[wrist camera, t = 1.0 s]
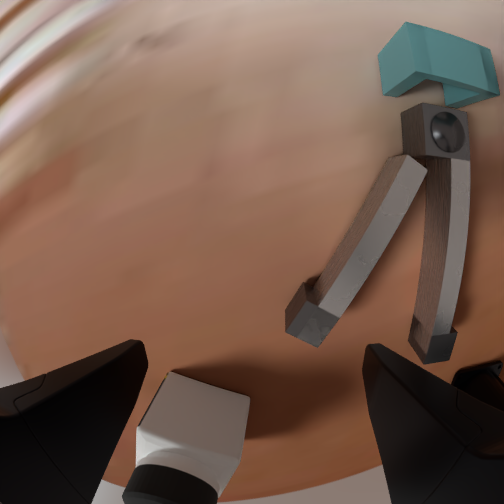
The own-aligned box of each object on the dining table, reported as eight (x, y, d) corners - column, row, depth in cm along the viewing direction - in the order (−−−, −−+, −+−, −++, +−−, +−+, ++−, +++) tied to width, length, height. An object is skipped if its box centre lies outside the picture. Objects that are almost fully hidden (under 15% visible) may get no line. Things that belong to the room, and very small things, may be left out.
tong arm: (379, 150, 16) (396, 146, 13) (406, 170, 16) (427, 170, 13) (285, 309, 19) (285, 332, 17) (313, 324, 20) (317, 347, 17)
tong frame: (400, 112, 16) (423, 102, 12) (449, 121, 15) (476, 114, 12) (387, 342, 20) (401, 368, 16) (431, 337, 19) (450, 361, 16)
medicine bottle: (168, 368, 22) (105, 481, 11) (252, 395, 22) (230, 523, 10) (160, 419, 24) (114, 515, 13) (231, 441, 24) (208, 546, 12)
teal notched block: (377, 54, 14) (405, 21, 10) (450, 70, 14) (490, 49, 9) (382, 95, 15) (415, 70, 10) (456, 108, 15) (499, 95, 10)
